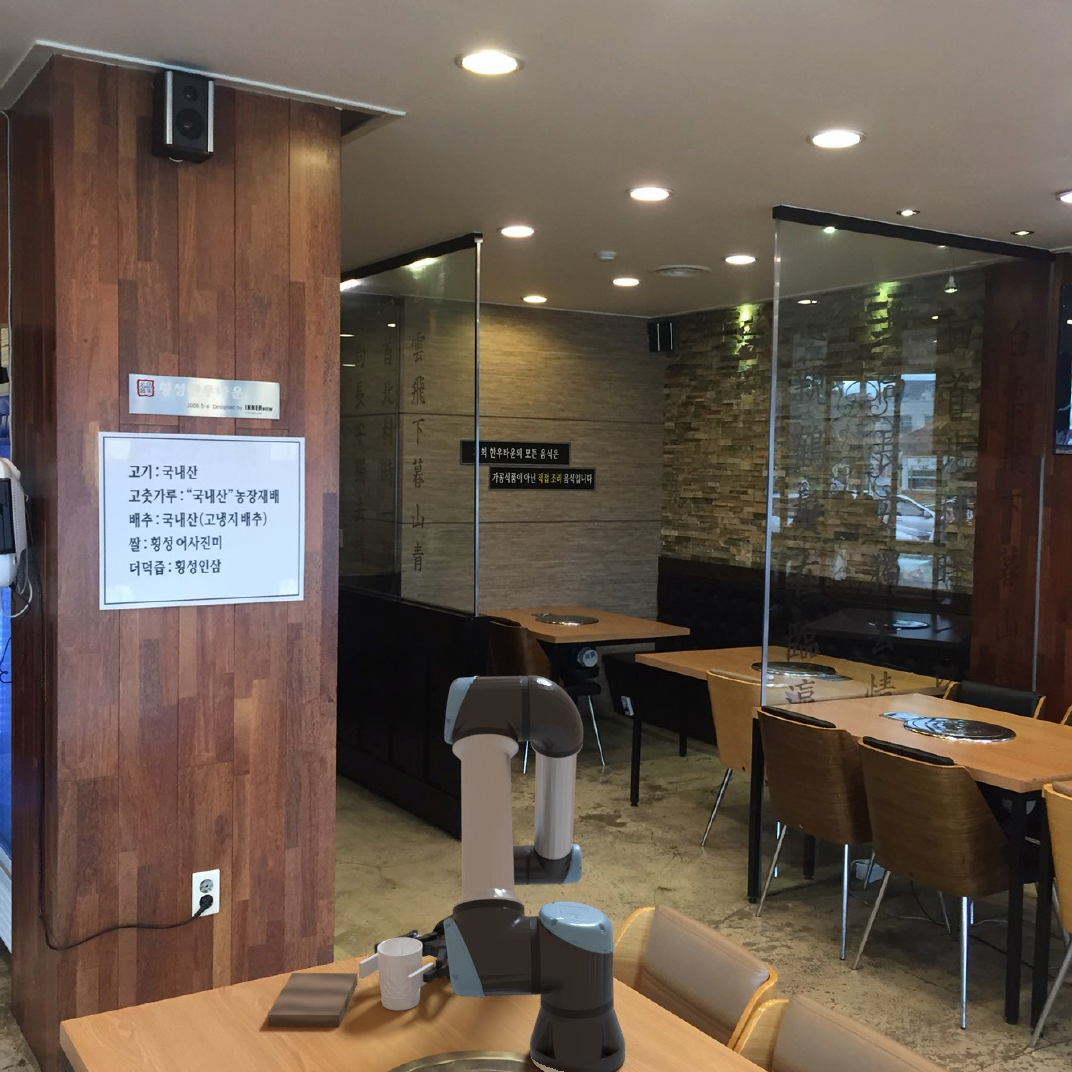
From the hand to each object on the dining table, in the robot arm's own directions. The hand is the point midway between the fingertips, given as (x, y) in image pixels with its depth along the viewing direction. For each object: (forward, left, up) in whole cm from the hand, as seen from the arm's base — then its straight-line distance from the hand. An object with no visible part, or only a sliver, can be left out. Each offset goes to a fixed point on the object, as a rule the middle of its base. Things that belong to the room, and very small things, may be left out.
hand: (384, 977), depth 189 cm
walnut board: (+3, +13, -6) cm, 14 cm away
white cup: (+4, -2, -6) cm, 8 cm away
